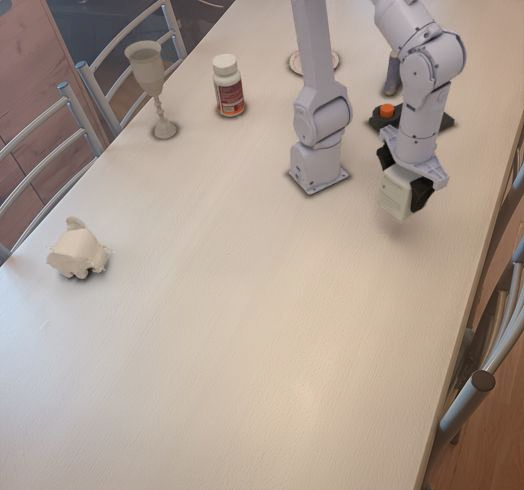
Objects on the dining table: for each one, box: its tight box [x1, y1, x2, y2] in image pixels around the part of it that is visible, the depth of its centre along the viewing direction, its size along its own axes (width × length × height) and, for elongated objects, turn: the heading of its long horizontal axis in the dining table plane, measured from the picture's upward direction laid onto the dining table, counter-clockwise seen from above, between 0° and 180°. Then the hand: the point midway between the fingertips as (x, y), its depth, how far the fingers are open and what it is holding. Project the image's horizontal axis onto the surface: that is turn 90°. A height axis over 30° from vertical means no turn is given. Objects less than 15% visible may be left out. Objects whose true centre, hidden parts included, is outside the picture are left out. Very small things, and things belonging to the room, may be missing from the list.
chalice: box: [124, 40, 178, 139], centre depth 105 cm, size 7×7×18 cm
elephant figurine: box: [45, 215, 116, 280], centre depth 90 cm, size 10×12×9 cm
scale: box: [368, 102, 455, 134], centre depth 106 cm, size 14×11×3 cm
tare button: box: [380, 103, 395, 118], centre depth 105 cm, size 3×3×2 cm
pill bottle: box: [212, 53, 245, 118], centre depth 110 cm, size 6×6×11 cm
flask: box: [383, 49, 403, 97], centre depth 110 cm, size 9×3×11 cm, turn 146°
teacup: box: [288, 37, 340, 76], centre depth 119 cm, size 12×12×6 cm
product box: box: [377, 163, 429, 223], centre depth 83 cm, size 6×6×7 cm
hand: (403, 197), depth 84 cm, fingers closed on product box, 6 cm apart
